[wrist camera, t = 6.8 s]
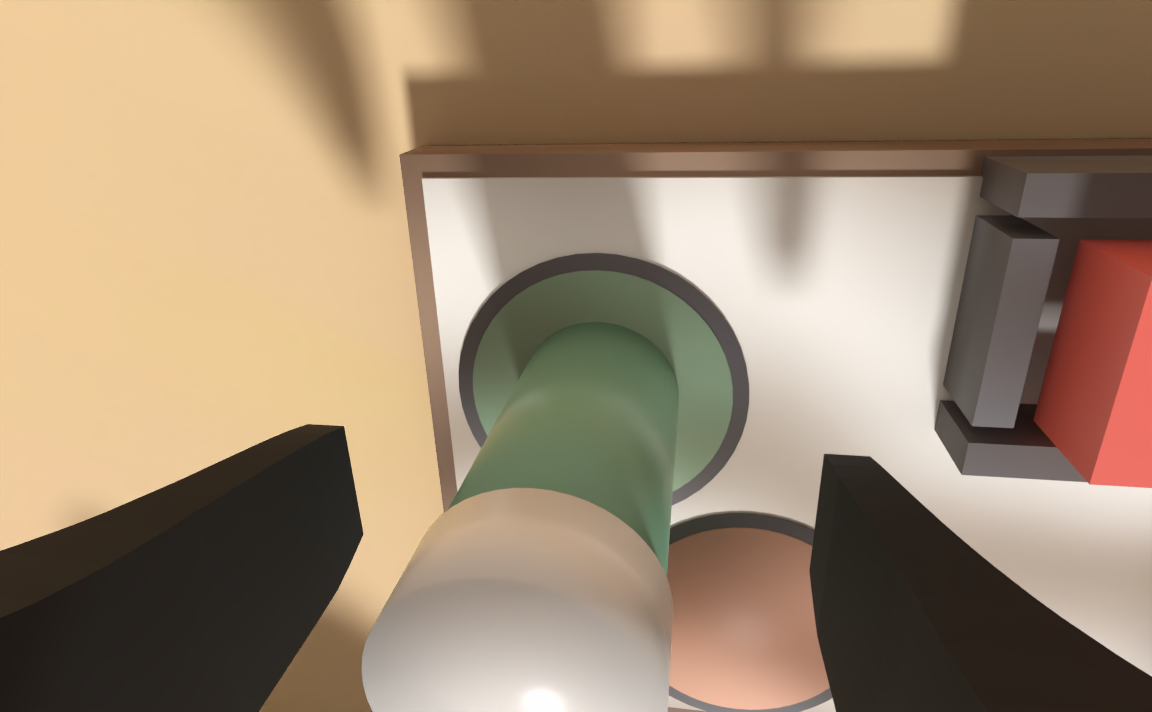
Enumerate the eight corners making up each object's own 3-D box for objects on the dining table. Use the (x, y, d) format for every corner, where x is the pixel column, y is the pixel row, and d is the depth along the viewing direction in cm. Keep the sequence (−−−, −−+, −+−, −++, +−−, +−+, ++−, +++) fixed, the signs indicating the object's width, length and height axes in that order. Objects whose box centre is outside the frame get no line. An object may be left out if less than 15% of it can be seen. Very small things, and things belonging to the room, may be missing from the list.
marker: (681, 472, 14) (664, 826, 8) (522, 462, 15) (383, 787, 8) (687, 319, 13) (670, 594, 6) (512, 314, 13) (338, 564, 7)
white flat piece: (1107, 721, 16) (1180, 844, 14) (479, 654, 19) (445, 750, 16) (1326, 136, 11) (1505, 163, 9) (423, 145, 14) (360, 169, 11)
